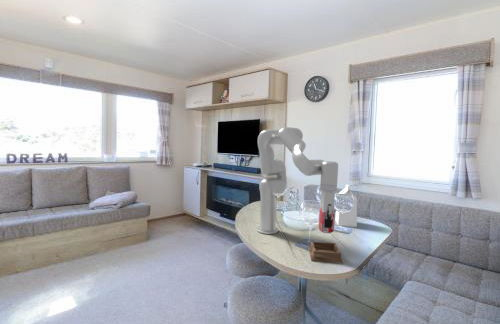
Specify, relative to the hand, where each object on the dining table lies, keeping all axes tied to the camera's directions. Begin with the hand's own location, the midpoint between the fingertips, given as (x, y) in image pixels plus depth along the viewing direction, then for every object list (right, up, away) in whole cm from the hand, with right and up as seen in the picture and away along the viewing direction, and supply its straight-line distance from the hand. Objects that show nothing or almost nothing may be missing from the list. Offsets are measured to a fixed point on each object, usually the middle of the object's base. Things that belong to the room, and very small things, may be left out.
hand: (326, 224), depth 123 cm
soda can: (0, -4, 0) cm, 4 cm away
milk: (+28, -12, +52) cm, 60 cm away
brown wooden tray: (-1, -15, +1) cm, 15 cm away
